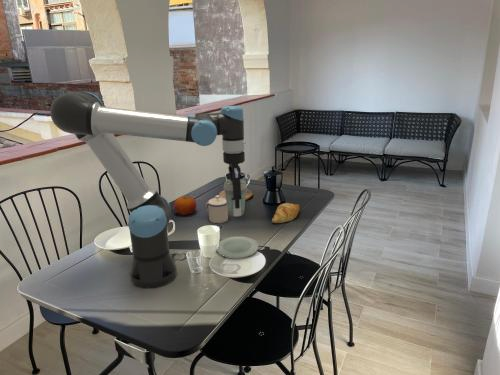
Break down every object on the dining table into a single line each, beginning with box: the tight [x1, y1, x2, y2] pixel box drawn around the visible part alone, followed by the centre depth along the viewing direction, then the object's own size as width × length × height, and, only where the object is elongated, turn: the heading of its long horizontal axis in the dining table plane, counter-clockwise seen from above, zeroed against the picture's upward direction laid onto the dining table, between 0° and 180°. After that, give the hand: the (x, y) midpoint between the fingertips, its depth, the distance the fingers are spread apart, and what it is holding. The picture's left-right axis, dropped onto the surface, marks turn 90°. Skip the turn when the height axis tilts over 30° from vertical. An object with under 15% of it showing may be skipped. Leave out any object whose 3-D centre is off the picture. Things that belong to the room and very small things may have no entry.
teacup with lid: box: [205, 194, 229, 224], centre depth 167 cm, size 12×9×12 cm
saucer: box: [216, 235, 259, 259], centre depth 141 cm, size 16×16×2 cm
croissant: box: [271, 202, 301, 224], centre depth 169 cm, size 21×10×8 cm, turn 142°
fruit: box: [173, 195, 197, 216], centre depth 175 cm, size 11×10×8 cm
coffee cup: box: [223, 179, 248, 217], centre depth 134 cm, size 8×8×12 cm
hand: (236, 211), depth 136 cm, fingers closed on coffee cup, 8 cm apart
